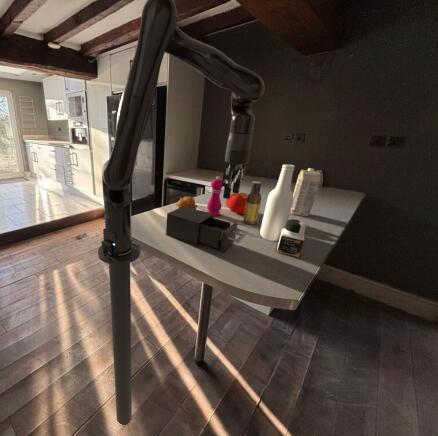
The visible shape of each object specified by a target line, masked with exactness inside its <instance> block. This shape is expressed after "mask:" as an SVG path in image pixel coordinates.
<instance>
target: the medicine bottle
mask: <svg viewBox="0 0 438 436" xmlns="http://www.w3.org/2000/svg"><path fill="white" fill-rule="evenodd" d="M306 227H307V224H306V223H305V222H304V221H302V220H299V219H293V218H291V219H288V220H287V222H286V225H285V229H284V228H283V229H282V232H281V236H280V240H279V241H278V244H277V249H276V252H277V253H281V254H284V255H285V254H286V255H288V256H293V257H297V258H299V257H300V256H301V252H302V249H303V247H304V243H305V230H306Z"/></svg>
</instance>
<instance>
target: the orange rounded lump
mask: <svg viewBox="0 0 438 436" xmlns="http://www.w3.org/2000/svg"><path fill="white" fill-rule="evenodd" d="M183 206H185V207H189V208H193V209H196V210H198V207H199V206H198V205H197V204H196V200H195V198H194V197H192V196H189V195H187V196H185V195H184V196H182V197H181V198H180V199H179V200H178V202H177V204H176V207H177V209H178V208H180V207H183Z"/></svg>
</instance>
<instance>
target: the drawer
mask: <svg viewBox="0 0 438 436" xmlns="http://www.w3.org/2000/svg"><path fill="white" fill-rule="evenodd" d="M214 226H216V227H219V228H222V229H225V231H224V232H223V235H222V241H221V242H220V243H219V239H220V233H221V230H219V229H215V228H212V227H214ZM238 227H239V223H238V222H233V224H232V222H229V221H226V220H223V219H219V218H215V217H214V218H212V217H211V218H210V219H208V220H206V221H205V222H203V223H202V224H200V228H199V237H198V242H200V244H203V245H206V246H209V247H211V248H215V249H218V248H219V252H220V253H224V252H225V251H226V250H227V249H228V248H230V247H231V246H232V245H233V243H236V244H239V243H241V241H243V239H245V237H246V236H247V235H246V233H239V232H238ZM236 236H238V237H237V238H236Z"/></svg>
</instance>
